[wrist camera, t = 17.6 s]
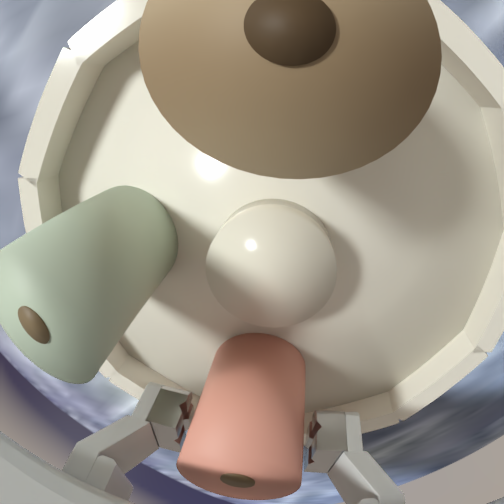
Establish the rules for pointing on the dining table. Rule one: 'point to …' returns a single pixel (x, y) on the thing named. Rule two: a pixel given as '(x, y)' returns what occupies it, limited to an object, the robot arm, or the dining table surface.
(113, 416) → the dining table surface
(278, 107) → the bead
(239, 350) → the bead
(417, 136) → the tray
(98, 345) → the bead
